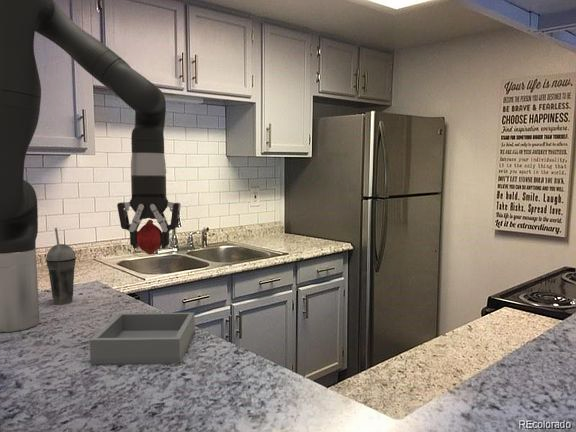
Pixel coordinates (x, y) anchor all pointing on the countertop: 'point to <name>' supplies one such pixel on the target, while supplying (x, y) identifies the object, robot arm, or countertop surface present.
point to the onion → (149, 237)
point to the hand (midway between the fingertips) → (150, 247)
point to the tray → (143, 338)
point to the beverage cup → (61, 272)
